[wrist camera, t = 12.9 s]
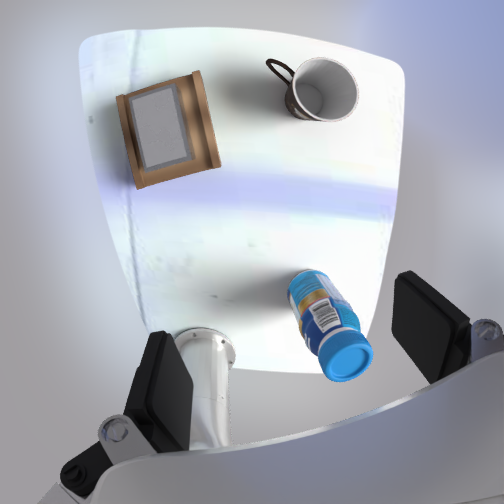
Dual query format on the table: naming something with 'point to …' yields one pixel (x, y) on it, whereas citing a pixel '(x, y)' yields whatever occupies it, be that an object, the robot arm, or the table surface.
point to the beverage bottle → (329, 326)
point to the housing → (161, 127)
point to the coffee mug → (319, 90)
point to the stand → (197, 124)
